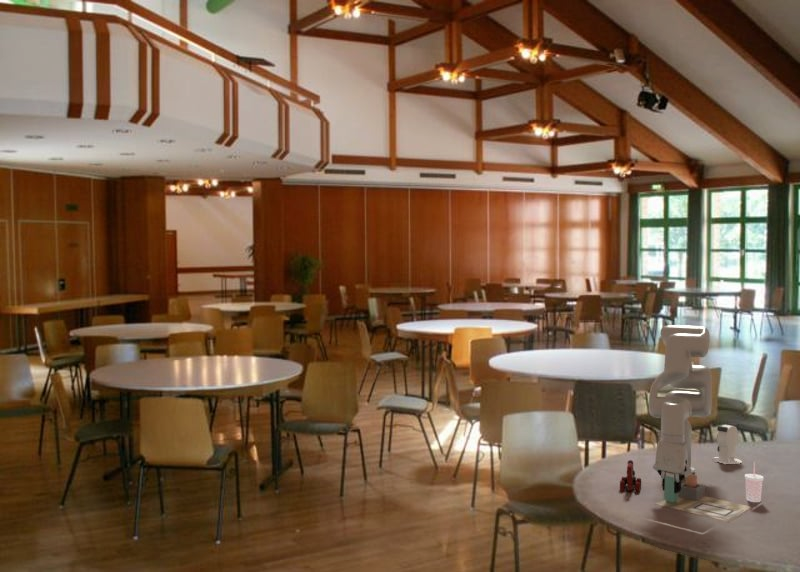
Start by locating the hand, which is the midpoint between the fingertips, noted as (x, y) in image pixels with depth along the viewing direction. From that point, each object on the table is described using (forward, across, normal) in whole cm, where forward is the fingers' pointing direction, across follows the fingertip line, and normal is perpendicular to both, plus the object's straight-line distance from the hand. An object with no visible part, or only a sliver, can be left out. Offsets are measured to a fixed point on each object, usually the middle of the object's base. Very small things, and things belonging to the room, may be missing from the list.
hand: (671, 490), depth 280 cm
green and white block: (+4, 0, 0) cm, 4 cm away
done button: (+2, +2, +11) cm, 11 cm away
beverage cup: (+5, +19, +23) cm, 30 cm away
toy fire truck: (+5, -18, +5) cm, 19 cm away
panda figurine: (+5, -9, +69) cm, 70 cm away
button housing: (+4, +2, +11) cm, 12 cm away
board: (+5, +9, +5) cm, 11 cm away
